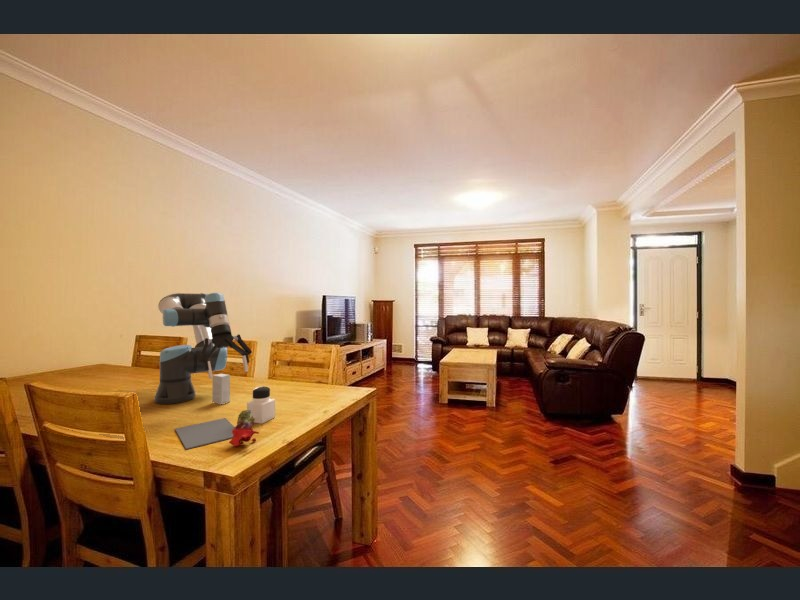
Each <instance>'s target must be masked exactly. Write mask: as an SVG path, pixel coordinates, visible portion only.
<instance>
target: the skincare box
mask: <svg viewBox="0 0 800 600" xmlns="http://www.w3.org/2000/svg"><path fill="white" fill-rule="evenodd" d="M212 375H213V377H212V393H211V395H212V398H211V399H212V400H211V401H212V402H214V403H213V404H215V403H218V404H217V405H221V404H222V405H225V404H224V403H226V404H228V403H227V402H229V403H230V402H231V375H230V374H227V373H226V374H225V373H218V374H212Z"/></svg>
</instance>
